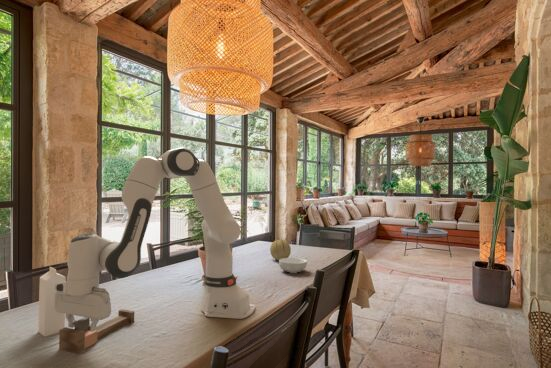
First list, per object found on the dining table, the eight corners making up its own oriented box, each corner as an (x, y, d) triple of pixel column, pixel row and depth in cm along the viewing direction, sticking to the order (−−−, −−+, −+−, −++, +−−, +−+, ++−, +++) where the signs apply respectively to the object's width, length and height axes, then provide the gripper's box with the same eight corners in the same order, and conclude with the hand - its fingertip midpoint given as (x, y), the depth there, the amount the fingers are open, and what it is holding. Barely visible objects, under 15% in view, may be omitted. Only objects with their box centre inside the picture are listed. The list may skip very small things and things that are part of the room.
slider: (97, 342, 103) (97, 318, 103) (83, 349, 98) (84, 324, 98) (80, 338, 105) (80, 315, 105) (66, 345, 101) (66, 321, 101)
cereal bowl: (311, 271, 197) (311, 259, 197) (298, 277, 183) (298, 264, 183) (287, 266, 206) (287, 255, 206) (273, 272, 192) (273, 260, 192)
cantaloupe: (283, 263, 214) (284, 241, 214) (265, 260, 222) (266, 239, 222) (294, 259, 226) (295, 238, 226) (277, 256, 234) (277, 236, 234)
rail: (136, 322, 119) (136, 306, 119) (78, 354, 96) (79, 334, 96) (119, 319, 122) (119, 303, 122) (59, 349, 99) (59, 329, 99)
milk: (57, 326, 115) (59, 264, 115) (64, 330, 111) (66, 267, 112) (37, 332, 110) (39, 268, 110) (44, 337, 106) (46, 271, 107)
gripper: (116, 286, 102) (115, 329, 102) (68, 279, 108) (67, 320, 108) (100, 292, 96) (99, 338, 96) (50, 284, 102) (49, 328, 102)
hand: (82, 328), depth 102 cm, fingers open, 7 cm apart
